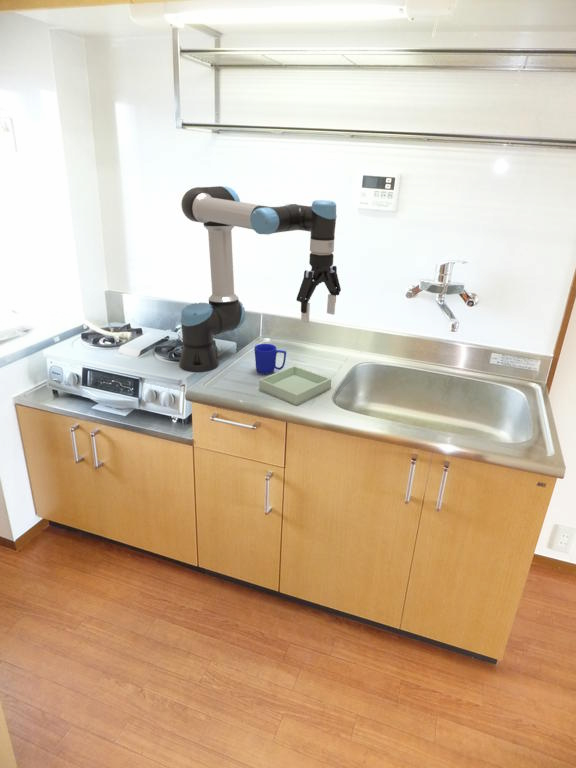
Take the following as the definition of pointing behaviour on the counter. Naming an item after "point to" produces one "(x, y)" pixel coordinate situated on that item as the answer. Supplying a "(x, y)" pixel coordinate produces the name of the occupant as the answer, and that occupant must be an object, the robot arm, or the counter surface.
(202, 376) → the counter surface
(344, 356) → the counter surface
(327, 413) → the counter surface
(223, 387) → the counter surface
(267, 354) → the mug
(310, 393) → the tray
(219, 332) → the robot arm
